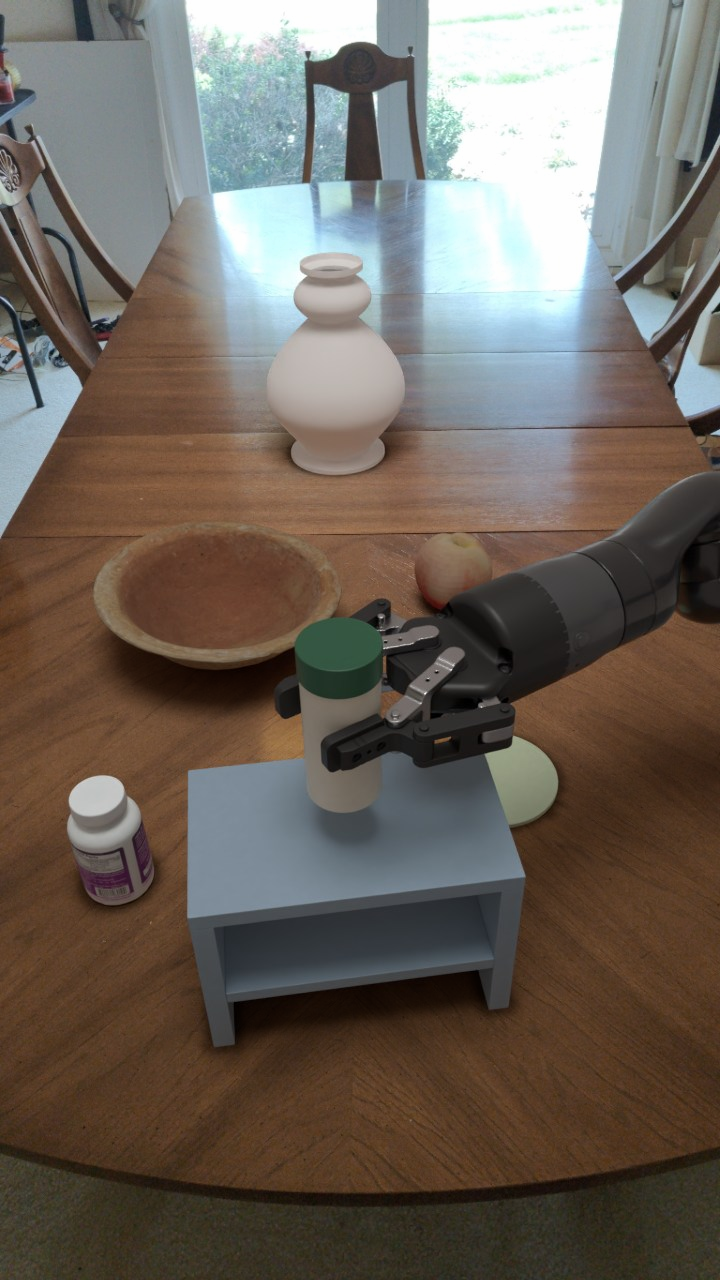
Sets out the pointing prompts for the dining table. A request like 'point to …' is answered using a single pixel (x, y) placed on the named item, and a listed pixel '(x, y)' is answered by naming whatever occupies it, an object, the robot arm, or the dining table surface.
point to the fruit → (450, 567)
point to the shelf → (348, 883)
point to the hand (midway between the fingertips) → (301, 728)
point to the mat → (523, 781)
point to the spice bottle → (339, 705)
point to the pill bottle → (109, 841)
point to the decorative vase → (335, 372)
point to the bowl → (216, 593)
